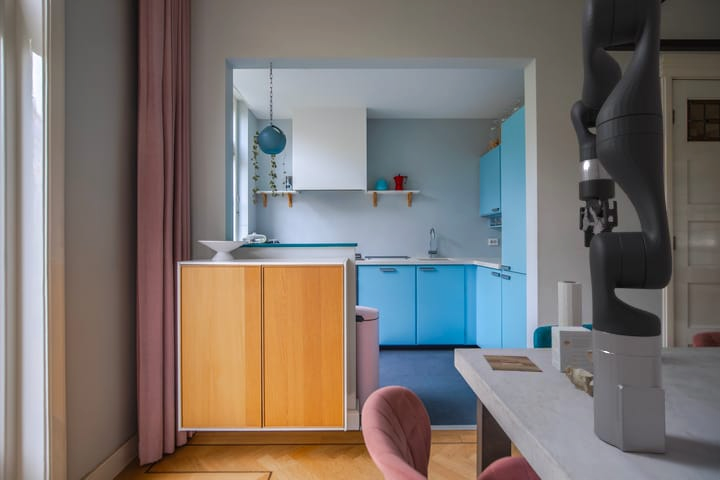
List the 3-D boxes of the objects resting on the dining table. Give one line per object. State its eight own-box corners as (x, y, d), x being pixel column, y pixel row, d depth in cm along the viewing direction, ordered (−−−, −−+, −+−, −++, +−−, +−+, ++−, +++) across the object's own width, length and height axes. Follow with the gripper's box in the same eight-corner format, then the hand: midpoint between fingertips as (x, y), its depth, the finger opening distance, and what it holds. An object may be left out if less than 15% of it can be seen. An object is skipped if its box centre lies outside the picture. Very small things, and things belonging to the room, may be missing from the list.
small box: (583, 367, 102) (583, 326, 102) (594, 373, 96) (593, 330, 97) (551, 366, 103) (550, 325, 103) (559, 372, 97) (559, 330, 98)
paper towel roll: (573, 360, 108) (572, 282, 108) (554, 355, 113) (553, 281, 114) (590, 357, 111) (589, 281, 112) (570, 352, 116) (569, 280, 117)
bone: (561, 386, 83) (566, 341, 87) (563, 394, 88) (567, 351, 92) (609, 397, 78) (612, 349, 82) (608, 405, 83) (611, 359, 87)
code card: (542, 371, 98) (542, 371, 98) (492, 369, 100) (492, 369, 100) (526, 356, 112) (526, 356, 112) (483, 355, 113) (483, 354, 113)
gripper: (629, 173, 87) (630, 246, 87) (599, 184, 101) (600, 247, 101) (593, 174, 88) (594, 246, 88) (568, 185, 102) (569, 247, 102)
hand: (597, 247), depth 94 cm, fingers open, 8 cm apart
